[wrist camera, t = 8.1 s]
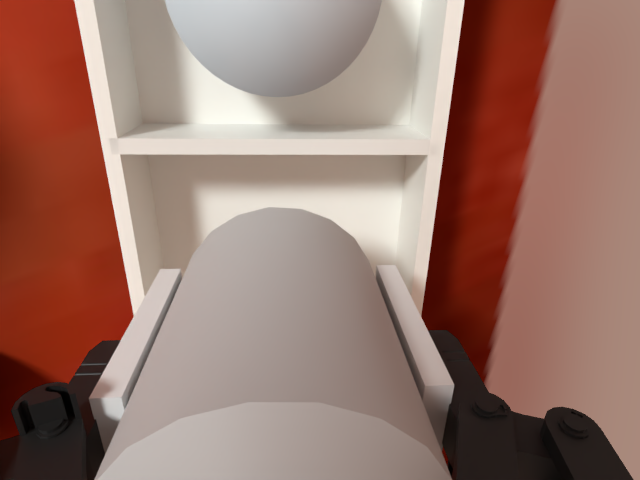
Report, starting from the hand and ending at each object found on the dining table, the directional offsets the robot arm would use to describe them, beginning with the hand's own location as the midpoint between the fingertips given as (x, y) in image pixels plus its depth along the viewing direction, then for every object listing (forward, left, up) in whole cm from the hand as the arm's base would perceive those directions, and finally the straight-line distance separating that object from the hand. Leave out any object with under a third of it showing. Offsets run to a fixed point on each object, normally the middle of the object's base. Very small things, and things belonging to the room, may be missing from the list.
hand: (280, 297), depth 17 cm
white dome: (-11, 0, -5) cm, 12 cm away
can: (0, 0, -1) cm, 1 cm away
